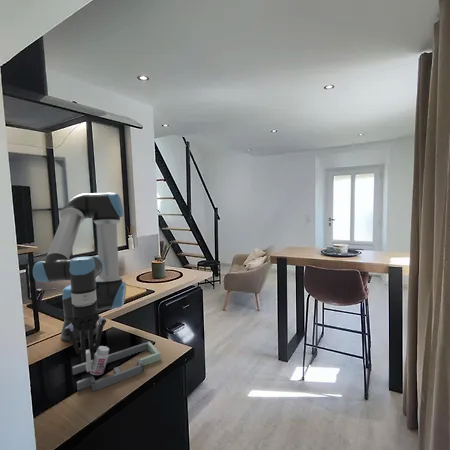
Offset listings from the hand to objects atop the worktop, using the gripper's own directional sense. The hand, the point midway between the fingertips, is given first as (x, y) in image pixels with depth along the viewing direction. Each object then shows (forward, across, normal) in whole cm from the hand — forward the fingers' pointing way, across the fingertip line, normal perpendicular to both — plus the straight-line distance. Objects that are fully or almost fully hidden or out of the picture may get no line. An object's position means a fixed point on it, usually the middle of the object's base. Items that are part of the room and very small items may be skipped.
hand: (88, 369), depth 97 cm
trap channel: (+3, +10, -1) cm, 10 cm away
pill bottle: (+2, +2, 0) cm, 3 cm away
